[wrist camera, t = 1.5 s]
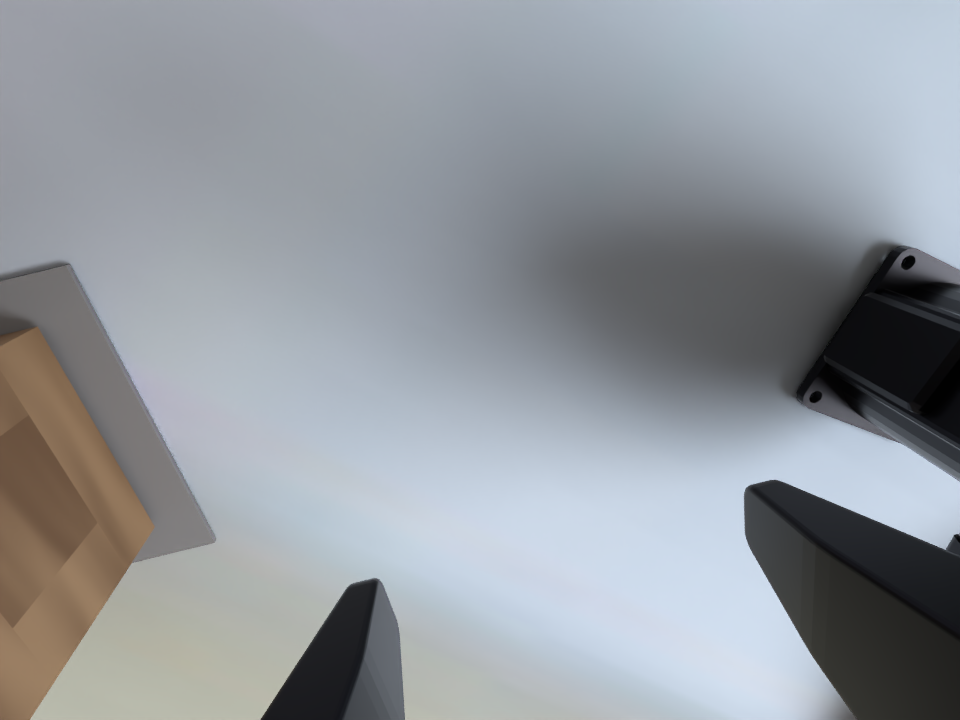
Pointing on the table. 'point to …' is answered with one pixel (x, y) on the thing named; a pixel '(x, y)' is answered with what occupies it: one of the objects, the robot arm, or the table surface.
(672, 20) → the table surface
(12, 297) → the gray angle bracket
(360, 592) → the robot arm
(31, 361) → the walnut block
